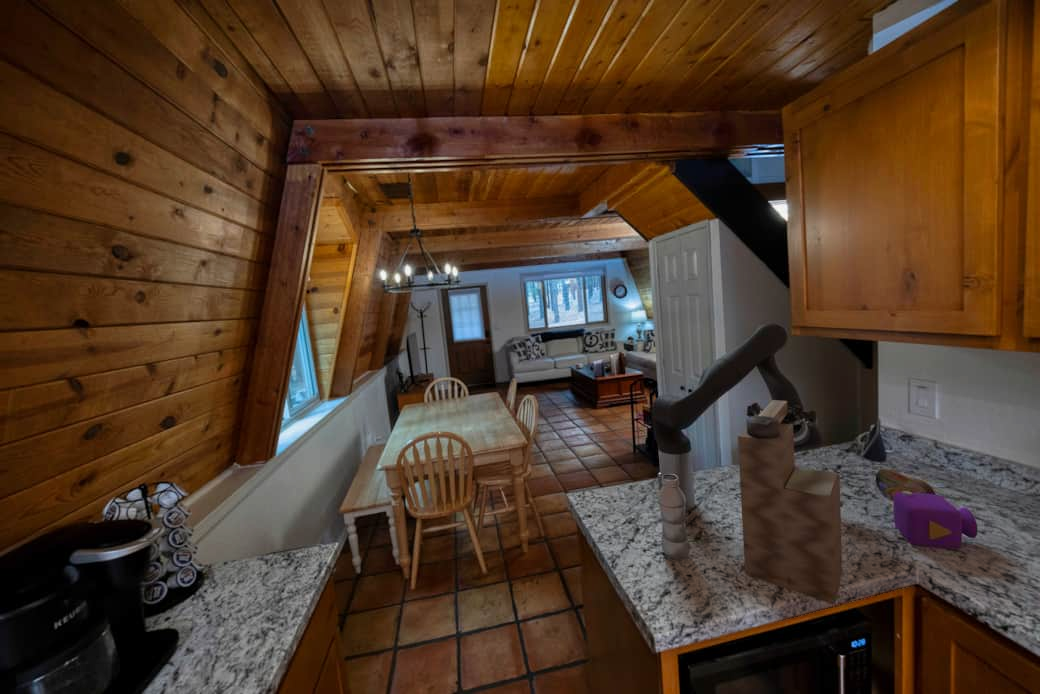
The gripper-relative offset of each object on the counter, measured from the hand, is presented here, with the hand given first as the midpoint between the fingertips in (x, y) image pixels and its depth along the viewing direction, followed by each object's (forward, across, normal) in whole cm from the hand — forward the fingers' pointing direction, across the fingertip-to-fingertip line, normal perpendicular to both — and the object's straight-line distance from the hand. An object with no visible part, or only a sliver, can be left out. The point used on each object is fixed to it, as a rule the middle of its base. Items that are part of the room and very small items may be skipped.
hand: (775, 408), depth 96 cm
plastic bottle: (-3, -19, +38) cm, 43 cm away
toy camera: (-36, +27, +20) cm, 49 cm away
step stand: (-9, +4, +34) cm, 36 cm away
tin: (-49, +22, +12) cm, 55 cm away
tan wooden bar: (+3, 0, +5) cm, 6 cm away
